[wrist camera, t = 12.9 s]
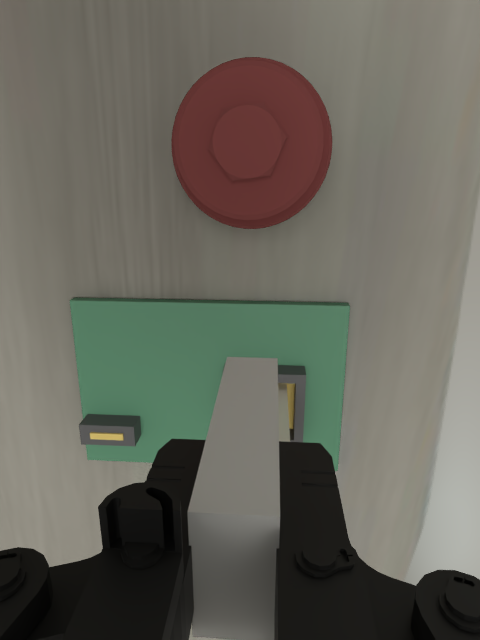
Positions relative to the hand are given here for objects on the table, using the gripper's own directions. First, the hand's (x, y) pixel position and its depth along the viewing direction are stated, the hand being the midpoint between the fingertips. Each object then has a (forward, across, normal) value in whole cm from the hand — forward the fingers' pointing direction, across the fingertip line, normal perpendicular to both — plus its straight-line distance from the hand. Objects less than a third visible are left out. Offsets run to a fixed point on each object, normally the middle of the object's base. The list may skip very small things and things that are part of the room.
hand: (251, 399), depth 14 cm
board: (+26, -5, -12) cm, 29 cm away
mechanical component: (+26, -1, +8) cm, 27 cm away
